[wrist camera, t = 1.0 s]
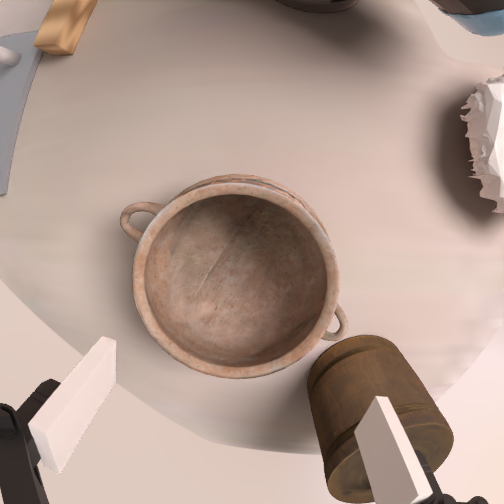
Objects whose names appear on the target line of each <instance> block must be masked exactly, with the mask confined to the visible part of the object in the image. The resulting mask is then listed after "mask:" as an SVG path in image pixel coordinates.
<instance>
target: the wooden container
mask: <svg viewBox="0 0 504 504" xmlns="http://www.w3.org/2000/svg"><path fill="white" fill-rule="evenodd" d="M307 388H308V394H309V400H310V404H311V411H312V415H313V420H314V424H315V428H316V433H317V436H318V440H319V445H320V449H321V453H322V457H323V462H324V473H325V478H326V483H327V487H328V490H329V492H330V494H331V495H332V496H333V497H334V498H336V499H337V500H339V501H342V502H346V503H355V504H362V503H370V502H375V499H374V496H373V492H372V489H371V486H370V482H369V479H368V475H367V472H366V469H365V465H364V462H363V459H362V456H361V452H360V449H359V446H358V443H357V439H356V436H355V433H354V431H355V429H356V428H357V426H358V425H359V423H360V421H361V420H362V418H363V417H364V415H365V413H366V412H367V410H368V408H369V407H370V405H371V403H372V401H373V400H374V398H375V396H381V397H388V399H389V401H390V403H391V405H392V407H393V409H394V411H395V413H396V415H397V417H398V419H399V421H400V423H401V425H402V427H403V429H404V431H405V433H406V435H407V437H408V439H409V441H410V443H411V446H412V448H413V450H419V451H420V452H421V453H422V454H423V455H424V456H425V458H426V460H427V462H428V464H429V465H428V466H430V468H431V470H432V471H431V472H433V473H434V472H435V471H436V470H437V469H438V468H439V467H440V466H441V464H442V463H443V462H444V461H445V459H446V458H447V456H448V455H449V453H450V451H451V449H452V446H453V442H454V436H453V432H452V430H451V428H450V426H449V425H448V423H447V421H446V419H445V418H444V416H443V415H442V414H441V412H440V411H439V409H438V407H437V406H436V404H435V402H434V401H433V399H432V398H431V396H430V395H429V393H428V391H427V390H426V388H425V387H424V385H423V383H422V382H421V380H420V379H419V377H418V376H417V374H416V373H415V372H414V370H413V369H412V367H411V366H410V365H409V363H408V362H407V361H406V359H405V358H404V356H403V355H402V354H401V352H400V351H399V350H398V348H397V347H396V346H395V345H394V344H393V343H392V342H391V341H389V340H387V339H385V338H382V337H379V336H373V335H362V336H356V337H352V338H349V339H346V340H344V341H341V342H339V343H337V344H335V345H334V346H332V347H331V348H329V349H328V350H327V351H326V352H324V353H323V354H322V355H321V356H320V358H319V359H318V360H317V361H316V363H315V364H314V366H313V367H312V369H311V371H310V374H309V377H308V383H307Z"/></svg>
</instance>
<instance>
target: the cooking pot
mask: <svg viewBox="0 0 504 504" xmlns="http://www.w3.org/2000/svg"><path fill="white" fill-rule="evenodd" d="M139 211H146V212H150V213H152V214H154V215H155V216H156V217H155V218H154V219H153V220H152V221H151V223H150V224H149V225H148V227H147V229H146V230H145V232H144V233H143V232H140V231H138V230H136V229H135V228H134V227H132V226H131V225H130V224H129V223H128V220H129V218H130V216H131V214H132V213H134V212H139ZM120 225H121V227H122V229H123V230H124V231H125V232H126V233H127V234H128V235H129V236H131V237H132V238H133V239H134V240H136V241H137V242H138V243H139V244H138V247H137V250H136V253H135V256H134V262H133V270H132V287H133V294H134V299H135V303H136V307H137V310H138V312H139V315H140V317H141V319H142V322H143V323H144V325H145V327H146V328H147V330H148V331H149V333H150V335H151V336H152V337H153V339H154V340H155V341H156V342H157V343H158V344H159V345H160V346H161V348H162V349H163V350H165V351H166V352H167V353H168V354H169V355H171V356H172V357H173V358H174V359H176V360H177V361H179V362H181V363H182V364H184V365H186V366H187V367H189V368H192V369H194V370H196V371H199V372H201V373H204V374H207V375H212V376H216V377H220V378H230V379H247V378H256V377H260V376H265V375H269V374H272V373H275V372H277V371H280V370H282V369H285V368H286V367H288V366H290V365H292V364H293V363H295V362H297V361H298V360H300V359H301V358H302V357H303V356H305V355H306V354H307V353H308V352H309V351H311V350H312V348H313V347H314V346H315V345H316V344H317V343H318V341H319V340H320V339H323V340H328V341H337V340H340V339H341V338H342V337H343V336H344V335H345V334H346V332H347V328H348V322H347V318H346V316H345V313H344V311H343V310H342V308H341V307H340V306H339V305H338V304H337V300H338V294H339V271H338V266H337V262H336V257H335V254H334V251H333V249H332V246H331V243H330V240H329V238H328V235H327V233H326V230H325V228H324V226H323V224H322V222H321V221H320V219H319V218H318V216H317V215H316V213H315V212H314V210H313V209H312V208H311V207H310V206H309V205H308V204H307V203H306V202H305V201H304V200H303V199H302V198H301V197H299V196H298V195H297V194H295V193H294V192H292V191H291V190H290V189H288V188H287V187H285V186H282V185H280V184H278V183H276V182H274V181H272V180H269V179H265V178H261V177H257V176H253V175H240V174H232V175H224V176H216V177H213V178H210V179H206V180H203V181H200V182H198V183H196V184H194V185H192V186H191V187H189V188H187V189H185V190H184V191H182V192H181V193H180V194H178V195H177V196H176V197H175V198H173V199H172V200H171V201H170V202H169V203H168V204H167V206H166V205H161V204H156V203H150V202H140V203H135V204H132V205H129V206H128V207H126V208H125V209H124V211H123V212H122V214H121V217H120ZM334 313H335V315H336V316H337V318H338V320H339V322H340V328H339V329H338V331H337V332H336V333H330V332H327V331H326V330H327V328H328V326H329V325H330V323H331V320H332V317H333V315H334Z"/></svg>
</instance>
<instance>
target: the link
mask: <svg viewBox="0 0 504 504" xmlns="http://www.w3.org/2000/svg"><path fill="white" fill-rule="evenodd" d="M97 1H98V0H54V2H53V3H52V5H51V7H50V9H49V11H48V13H47V15H46V17H45V19H44V21H43V23H42V25H41V28H40V30H39V32H38V34H37V36H36V39H35V41H34V43H33V46H35V47H37V48H39V49H41V50H43V51H45V52H47V53H49V54H51V55H62V54H73V53H74V51H75V48H76V46H77V43H78V41H79V39H80V36H81V34H82V32H83V30H84V28H85V25H86V23H87V21H88V19H89V17H90V15H91V13H92V11H93V9H94V7H95V5H96V3H97Z"/></svg>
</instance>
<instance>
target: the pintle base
mask: <svg viewBox="0 0 504 504" xmlns="http://www.w3.org/2000/svg"><path fill="white" fill-rule="evenodd" d="M38 32H39V31H32V32H25V33H19V34H14V35H8V36H3V37H0V195H2V194H7V188H8V181H9V174H10V168H11V162H12V157H13V152H14V147H15V142H16V137H17V133H18V129H19V125H20V121H21V117H22V113H23V110H24V106H25V103H26V99H27V96H28V93H29V90H30V86H31V83H32V80H33V78H34V75H35V72H36V69H37V66H38V64H39V61H40V58H41V56H42V53H43V50H41V49H39V48H37V47H35V46H33V43H34V41H35V39H36V36H37V34H38Z"/></svg>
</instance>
